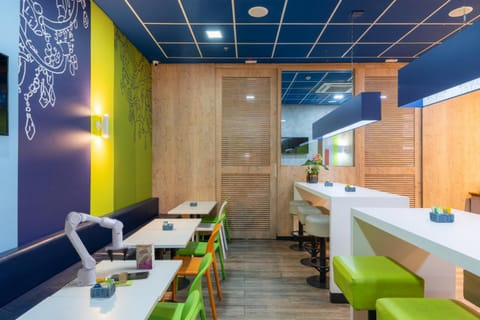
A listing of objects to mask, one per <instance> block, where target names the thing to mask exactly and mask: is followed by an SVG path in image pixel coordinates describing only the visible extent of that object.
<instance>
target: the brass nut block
mask: <svg viewBox="0 0 480 320" xmlns="http://www.w3.org/2000/svg"><path fill="white" fill-rule="evenodd" d="M128 273H129V272H128V271H125V272H123V271H122V272H120V273H118V274H119V285H120V284H127V282H128Z"/></svg>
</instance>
